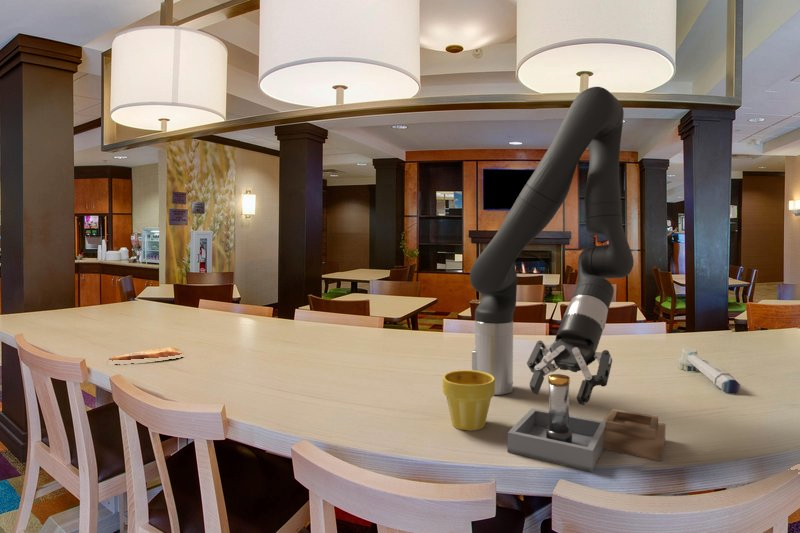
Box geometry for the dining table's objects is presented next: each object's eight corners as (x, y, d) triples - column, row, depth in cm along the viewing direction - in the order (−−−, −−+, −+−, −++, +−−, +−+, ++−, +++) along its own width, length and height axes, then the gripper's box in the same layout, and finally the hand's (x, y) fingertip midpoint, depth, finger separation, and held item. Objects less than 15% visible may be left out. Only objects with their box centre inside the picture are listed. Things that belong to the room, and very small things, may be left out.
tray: (507, 452, 84) (507, 432, 83) (531, 425, 95) (531, 408, 95) (592, 472, 76) (592, 450, 76) (607, 440, 88) (607, 422, 88)
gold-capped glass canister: (542, 444, 85) (542, 378, 84) (551, 435, 89) (551, 372, 88) (567, 450, 83) (567, 382, 82) (575, 441, 86) (575, 376, 85)
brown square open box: (597, 447, 85) (597, 422, 85) (606, 428, 93) (607, 406, 93) (661, 461, 80) (661, 434, 79) (665, 439, 88) (665, 415, 88)
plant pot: (489, 438, 89) (489, 386, 89) (436, 430, 93) (436, 381, 93) (498, 419, 99) (499, 372, 99) (450, 412, 103) (450, 367, 102)
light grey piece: (720, 378, 114) (675, 342, 138) (717, 404, 115) (673, 364, 139) (744, 379, 113) (694, 342, 137) (741, 405, 114) (692, 364, 139)
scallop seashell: (100, 365, 146) (100, 353, 146) (150, 352, 163) (149, 341, 163) (144, 370, 140) (144, 358, 140) (191, 356, 157) (191, 345, 156)
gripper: (542, 308, 95) (512, 377, 87) (616, 315, 85) (591, 394, 78) (553, 331, 99) (526, 399, 91) (625, 340, 90) (602, 417, 82)
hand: (556, 396), depth 84 cm, fingers open, 8 cm apart
